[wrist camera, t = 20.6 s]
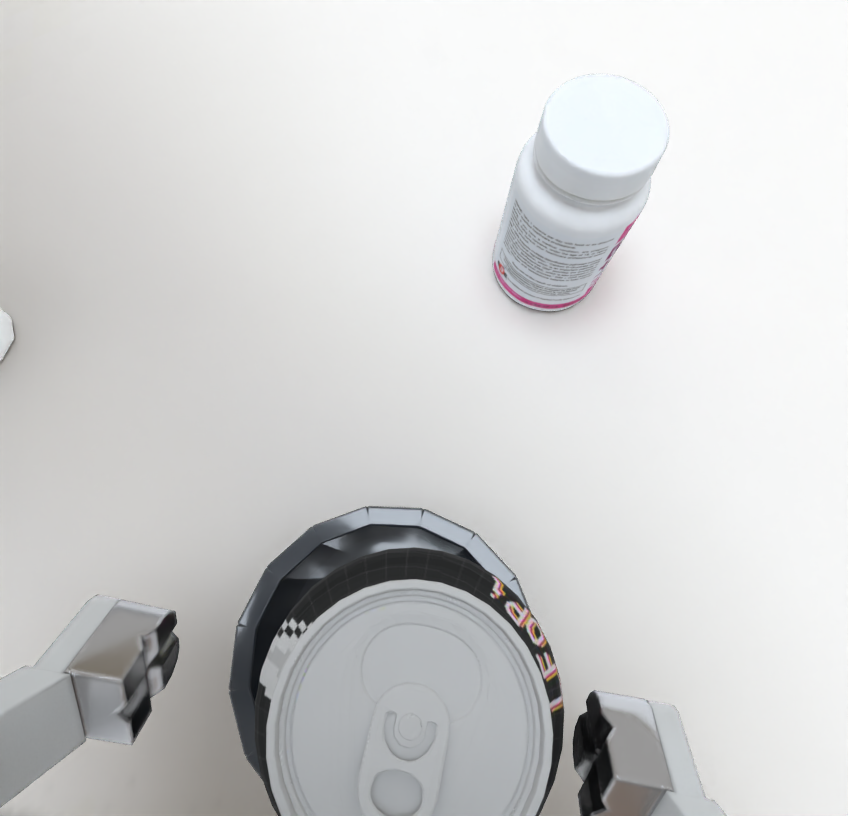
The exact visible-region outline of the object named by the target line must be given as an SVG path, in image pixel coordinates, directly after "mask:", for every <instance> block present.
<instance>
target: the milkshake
mask: <svg viewBox="0 0 848 816" xmlns="http://www.w3.org/2000/svg"><path fill="white" fill-rule="evenodd" d="M13 340H14V332H13V325H12V318H11V316H9V315H8V314H7V313H6V312H5V311H3V310H2V309H1V308H0V361H1V360H2V359H3V357H4V356H5V354H6V352H7V350H8V349H9V347H10V345H11V343H12V342H13Z"/></svg>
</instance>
